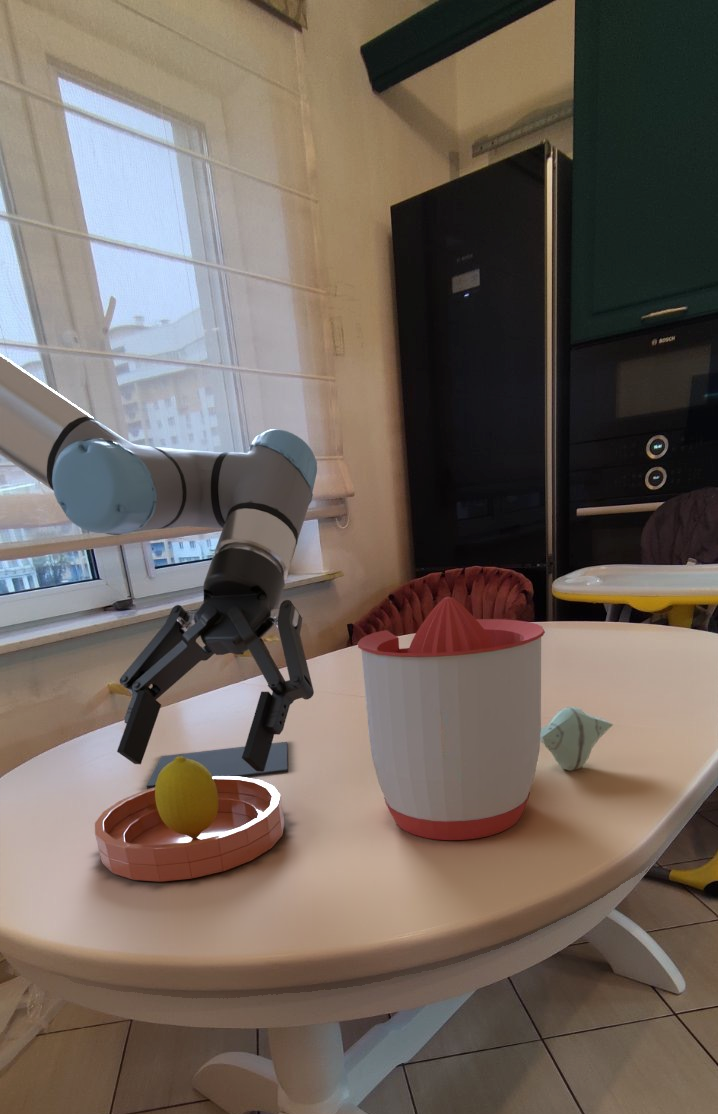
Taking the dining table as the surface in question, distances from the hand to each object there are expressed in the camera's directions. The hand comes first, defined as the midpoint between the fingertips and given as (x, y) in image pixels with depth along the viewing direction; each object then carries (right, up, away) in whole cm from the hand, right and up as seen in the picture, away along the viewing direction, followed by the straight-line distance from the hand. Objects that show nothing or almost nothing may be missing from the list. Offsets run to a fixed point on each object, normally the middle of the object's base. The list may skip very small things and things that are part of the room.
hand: (188, 761), depth 65 cm
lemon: (0, -7, +2) cm, 7 cm away
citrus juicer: (+24, -5, +3) cm, 25 cm away
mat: (-1, +1, +22) cm, 22 cm away
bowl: (0, -7, +2) cm, 8 cm away
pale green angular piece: (+38, 0, +11) cm, 39 cm away
